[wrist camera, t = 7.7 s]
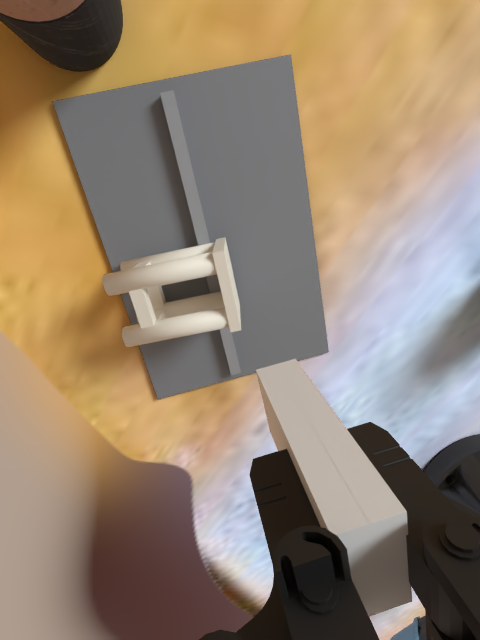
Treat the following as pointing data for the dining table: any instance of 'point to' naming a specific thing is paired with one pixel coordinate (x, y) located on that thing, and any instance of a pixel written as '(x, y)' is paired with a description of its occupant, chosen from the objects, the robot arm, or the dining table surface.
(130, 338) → the stool
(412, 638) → the robot arm
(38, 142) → the dining table surface
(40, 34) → the travel mug
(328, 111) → the dining table surface
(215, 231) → the board
